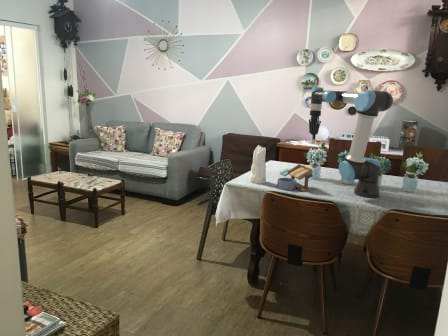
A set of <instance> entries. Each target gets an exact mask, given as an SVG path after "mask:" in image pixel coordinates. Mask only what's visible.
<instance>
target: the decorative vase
mask: <svg viewBox="0 0 448 336" xmlns="http://www.w3.org/2000/svg"><path fill="white" fill-rule="evenodd" d="M266 151H267V149H266V147H263V146H262V145H259V144H258V145H257V146H256V147H255V149H254V150H253V153H252V154H253V157H252V164H251V167H250V174H249V182H250V183H251V182H252V184H256V183H257V184H259V185H264V184H265V183H266V181H267V176H266V170H267V165H266V153H267V152H266Z"/></svg>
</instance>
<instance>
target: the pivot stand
mask: <svg viewBox="0 0 448 336" xmlns="http://www.w3.org/2000/svg"><path fill="white" fill-rule="evenodd" d="M290 176H291V175H290ZM290 178H292V179H295V180H296V178H295V177H293V176H291V177H290ZM309 179H310V178H309V176H305V177H304V181H303V182H304V185H303V184H301V183H299V182H297V181H296V188H295V190H298V191H300V192H301V193H305V192H312V191H311V189H310V188H309Z"/></svg>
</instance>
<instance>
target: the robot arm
mask: <svg viewBox="0 0 448 336" xmlns="http://www.w3.org/2000/svg"><path fill="white" fill-rule="evenodd" d="M323 103H341V104H349V105H350V104H351V105H354V108H355V110H356V114H357V115H358V117H357V121H356V125H355V128H354V132H353V137H352V140H351V145H350V148H349V153H348V154H347V155H345V157H344V160H343V161H341V162H340V163H339V165H338V172H339V175H340V176H341V178H342V179H344V180H346V181H355V180H358V181H357V182H356V185H355V187H354V190H353V194H354V193H355V194H354V195H356V194H357V195H356V196H359V195H360V196H359V197H362V196H365V197H364V198H369V197H373V198H375V197H376V198H379V197H380V193H381V192H380V188H379V187H380V186H379V178H380V171H381V161H380V160H378V159H375V158H371V157H366V156H365V155H366V154H365V153H366V150H367V147H368V146H367V145H368V142H369V138H370V135H371V131H372V128H373V123H374V121H375V119H376V118H377V117H378V116H379V112H380V113H382V112H386V111H388V110H389V109H390V108H392V106H393V104H394V98H393V95H392V94H391V93H390V92H388V91H385V90H370V89H367V90H362V91H360V92H355V91H347V90H343V91H340V90H329V89H328V90H324V87H322V86H321V87H320V86H314V87H312V88H311V97H310V105H309V106H310V108H309V109H310V110H309V116H310V118H309V119H308V125H309V126H308V127H309V128H308V129H309V131H308V132H309V133H308V134H310V142H309V143H310V144H311V145H315V144H316V137H317V135H319V130H320V126H321V123H322V121H321V120H320V117H321V115H322V107H323V106H322V105H323ZM373 198H372V199H373ZM376 198H375V199H376Z"/></svg>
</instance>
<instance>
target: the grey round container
mask: <svg viewBox="0 0 448 336" xmlns="http://www.w3.org/2000/svg"><path fill="white" fill-rule="evenodd" d="M297 180H298V179H296V178H295V179H292V178H291V177H279V178H278V179H277V185H276V187H277V188H278V190H282V191H294V190H296V182H297Z"/></svg>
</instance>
